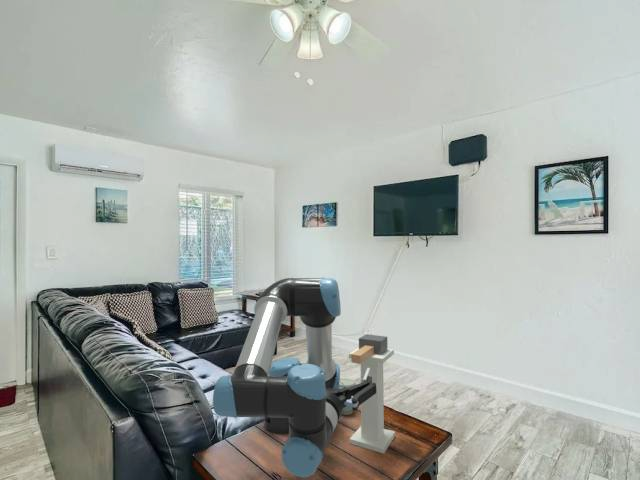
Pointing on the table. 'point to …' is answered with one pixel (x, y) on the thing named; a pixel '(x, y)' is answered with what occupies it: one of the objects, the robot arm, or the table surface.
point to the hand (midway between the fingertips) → (345, 369)
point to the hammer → (369, 347)
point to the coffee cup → (342, 384)
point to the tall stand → (373, 408)
